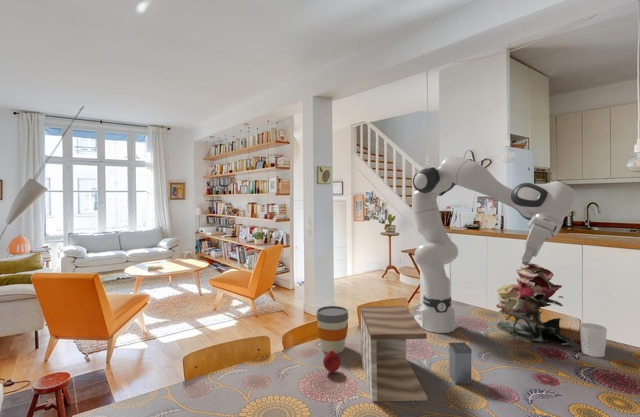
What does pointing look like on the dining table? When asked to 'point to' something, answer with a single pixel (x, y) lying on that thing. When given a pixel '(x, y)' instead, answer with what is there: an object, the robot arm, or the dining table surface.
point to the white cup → (593, 339)
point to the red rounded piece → (331, 361)
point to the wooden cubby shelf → (389, 353)
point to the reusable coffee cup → (332, 328)
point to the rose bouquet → (529, 304)
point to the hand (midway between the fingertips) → (524, 263)
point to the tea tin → (460, 363)
